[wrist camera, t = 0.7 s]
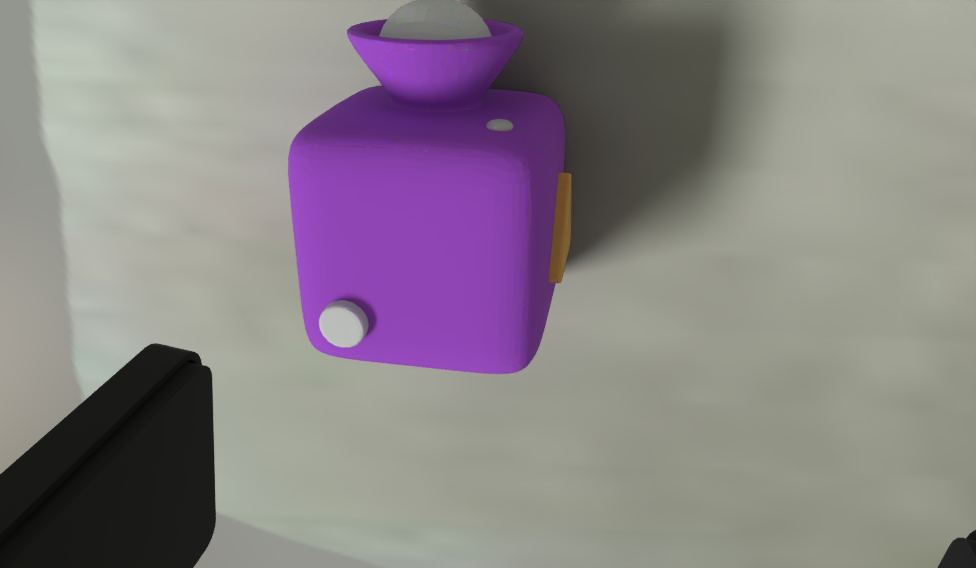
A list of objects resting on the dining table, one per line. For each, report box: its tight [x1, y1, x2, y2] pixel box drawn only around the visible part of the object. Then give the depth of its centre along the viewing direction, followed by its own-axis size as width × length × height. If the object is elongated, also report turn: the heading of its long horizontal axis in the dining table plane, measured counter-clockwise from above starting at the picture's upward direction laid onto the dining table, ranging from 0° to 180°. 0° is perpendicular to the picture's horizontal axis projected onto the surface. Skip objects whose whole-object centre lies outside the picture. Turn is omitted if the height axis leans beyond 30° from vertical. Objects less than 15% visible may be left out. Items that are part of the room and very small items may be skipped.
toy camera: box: [288, 0, 571, 374], centre depth 31 cm, size 11×14×10 cm
